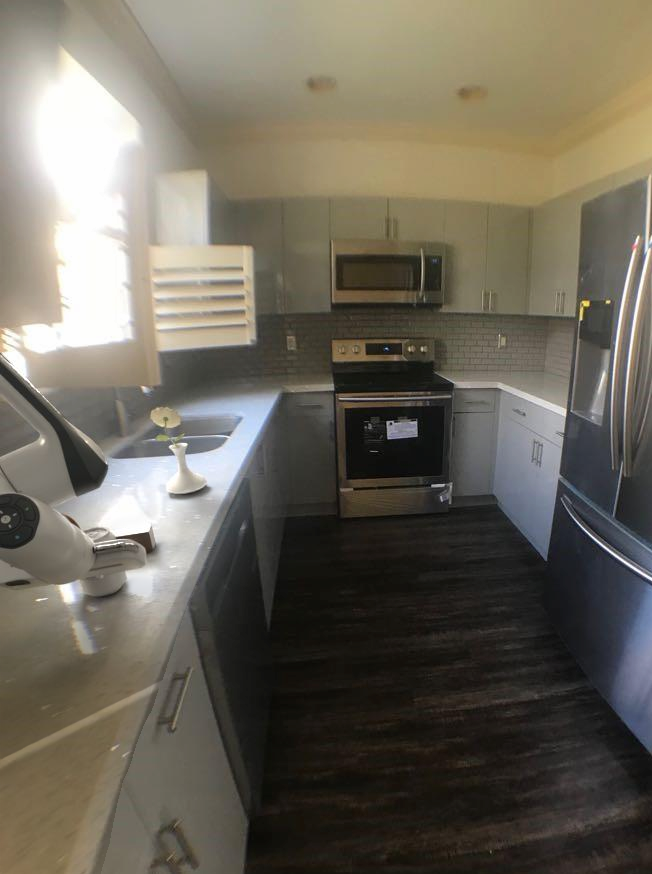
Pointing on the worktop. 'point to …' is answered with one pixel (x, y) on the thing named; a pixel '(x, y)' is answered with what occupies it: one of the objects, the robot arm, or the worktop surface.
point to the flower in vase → (177, 454)
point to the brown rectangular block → (138, 535)
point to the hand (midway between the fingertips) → (94, 575)
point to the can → (109, 581)
